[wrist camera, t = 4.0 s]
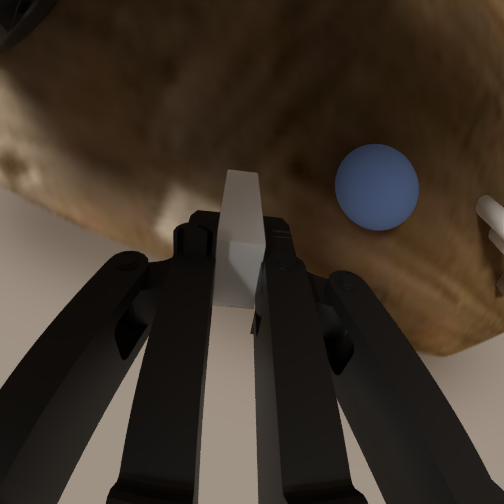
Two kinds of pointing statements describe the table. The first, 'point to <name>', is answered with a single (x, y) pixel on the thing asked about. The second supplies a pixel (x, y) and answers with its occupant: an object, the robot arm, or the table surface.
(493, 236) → the pin
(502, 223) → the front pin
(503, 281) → the back wall
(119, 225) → the table surface
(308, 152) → the table surface
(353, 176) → the ball
